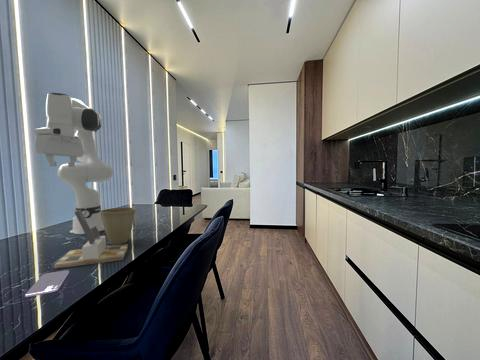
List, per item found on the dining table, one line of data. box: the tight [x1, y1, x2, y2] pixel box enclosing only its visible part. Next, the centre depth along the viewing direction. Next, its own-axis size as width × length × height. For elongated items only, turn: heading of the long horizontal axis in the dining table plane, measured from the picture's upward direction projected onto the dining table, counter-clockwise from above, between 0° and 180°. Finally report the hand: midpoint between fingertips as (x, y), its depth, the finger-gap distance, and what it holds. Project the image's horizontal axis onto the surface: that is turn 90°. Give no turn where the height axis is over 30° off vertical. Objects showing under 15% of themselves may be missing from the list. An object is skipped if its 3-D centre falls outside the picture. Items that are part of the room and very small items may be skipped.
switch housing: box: [81, 235, 107, 260], centre depth 92 cm, size 13×5×5 cm, turn 19°
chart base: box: [53, 243, 129, 270], centre depth 92 cm, size 15×22×2 cm
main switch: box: [74, 210, 96, 244], centre depth 88 cm, size 4×1×14 cm, turn 19°
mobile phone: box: [24, 269, 70, 298], centre depth 72 cm, size 8×1×15 cm
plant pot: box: [100, 206, 136, 246], centre depth 110 cm, size 15×15×16 cm
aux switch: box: [91, 226, 101, 239], centre depth 95 cm, size 4×1×5 cm, turn 19°
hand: (62, 166), depth 93 cm, fingers open, 8 cm apart
